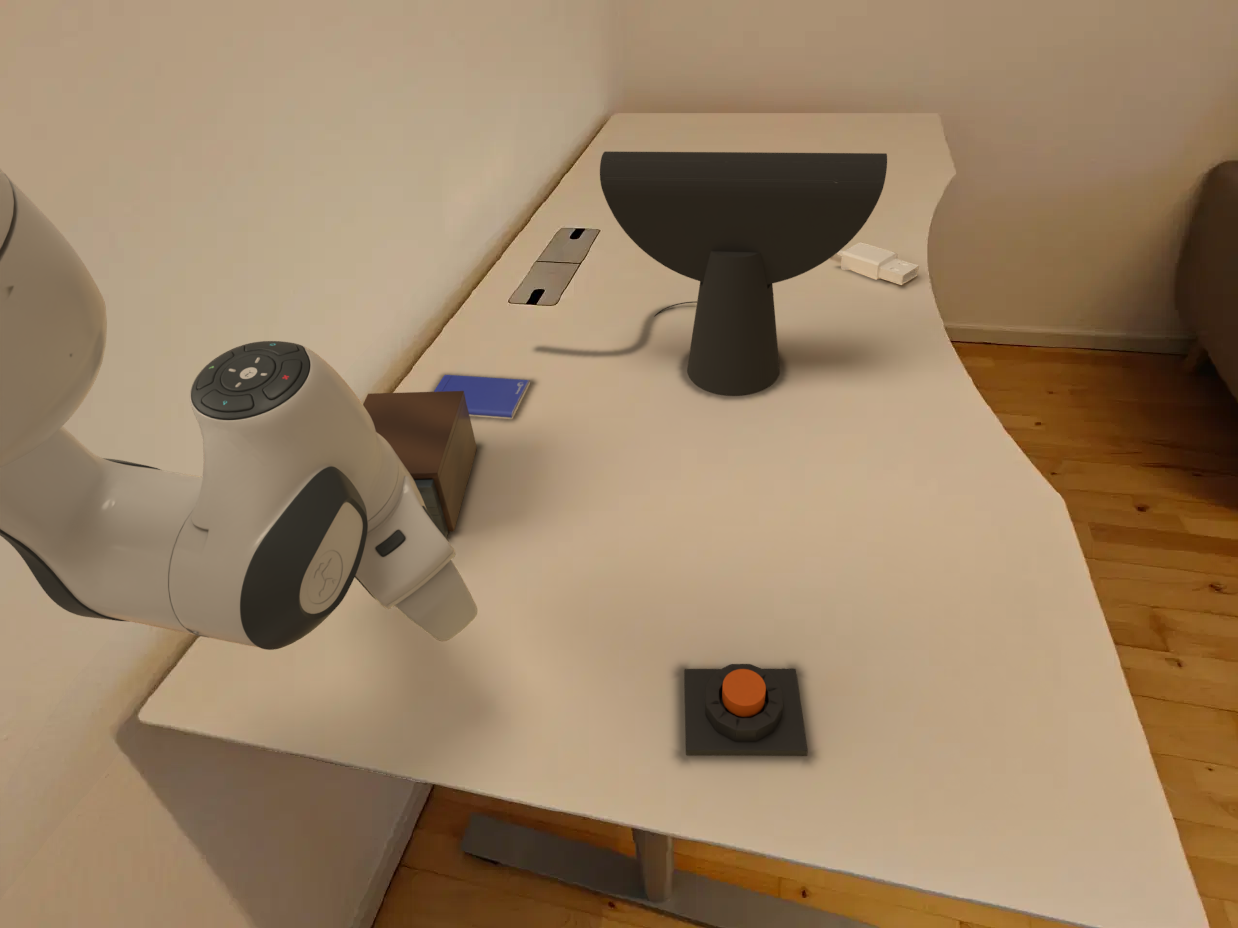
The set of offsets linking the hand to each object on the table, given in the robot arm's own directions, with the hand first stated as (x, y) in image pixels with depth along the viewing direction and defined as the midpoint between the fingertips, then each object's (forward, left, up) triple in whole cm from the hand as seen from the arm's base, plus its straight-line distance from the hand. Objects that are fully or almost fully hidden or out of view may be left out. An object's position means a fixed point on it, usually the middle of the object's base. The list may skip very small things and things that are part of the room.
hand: (415, 571), depth 73 cm
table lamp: (+48, -26, -11) cm, 55 cm away
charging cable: (+78, -49, -11) cm, 93 cm away
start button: (-8, -29, -7) cm, 31 cm away
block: (-8, -29, -10) cm, 32 cm away
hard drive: (+40, +3, -11) cm, 41 cm away
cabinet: (+22, +7, -10) cm, 25 cm away
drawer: (+18, +7, -10) cm, 22 cm away
